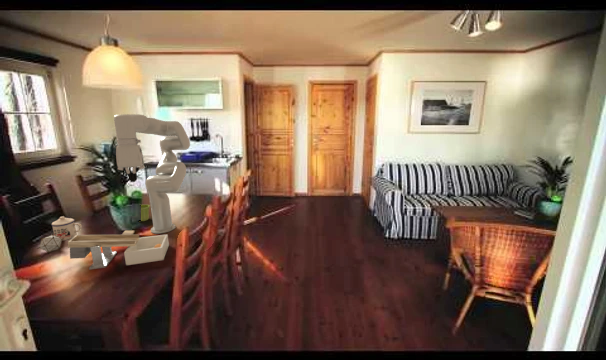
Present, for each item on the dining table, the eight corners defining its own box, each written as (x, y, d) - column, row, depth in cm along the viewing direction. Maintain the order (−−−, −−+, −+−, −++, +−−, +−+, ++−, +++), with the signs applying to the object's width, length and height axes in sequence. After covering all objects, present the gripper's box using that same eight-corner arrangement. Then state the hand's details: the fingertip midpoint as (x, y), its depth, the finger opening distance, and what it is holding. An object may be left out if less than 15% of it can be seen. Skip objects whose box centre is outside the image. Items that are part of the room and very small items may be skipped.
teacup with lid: (51, 242, 135) (46, 221, 132) (60, 235, 144) (56, 215, 141) (79, 239, 139) (74, 218, 136) (86, 232, 147) (83, 212, 145)
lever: (85, 242, 125) (85, 227, 123) (143, 241, 132) (143, 227, 131) (68, 259, 110) (67, 242, 108) (134, 257, 118) (134, 241, 116)
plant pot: (130, 221, 163) (128, 207, 161) (145, 216, 171) (143, 203, 169) (139, 223, 159) (137, 210, 157) (154, 218, 167) (152, 205, 165)
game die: (49, 260, 125) (26, 249, 119) (57, 246, 132) (37, 235, 126) (64, 251, 125) (42, 239, 119) (72, 238, 132) (52, 226, 126)
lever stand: (101, 254, 123) (98, 236, 121) (116, 252, 125) (113, 234, 122) (89, 269, 111) (85, 249, 109) (106, 267, 113) (102, 247, 110)
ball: (160, 240, 125) (166, 246, 127) (153, 245, 125) (158, 251, 126) (158, 244, 121) (164, 250, 123) (151, 249, 121) (156, 255, 122)
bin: (135, 249, 128) (133, 238, 126) (168, 245, 132) (167, 234, 131) (126, 265, 114) (124, 252, 113) (163, 259, 118) (161, 247, 117)
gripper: (148, 141, 126) (152, 178, 130) (111, 142, 121) (117, 180, 125) (144, 142, 119) (149, 182, 123) (105, 143, 114) (112, 184, 119)
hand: (133, 181), depth 124 cm, fingers closed
